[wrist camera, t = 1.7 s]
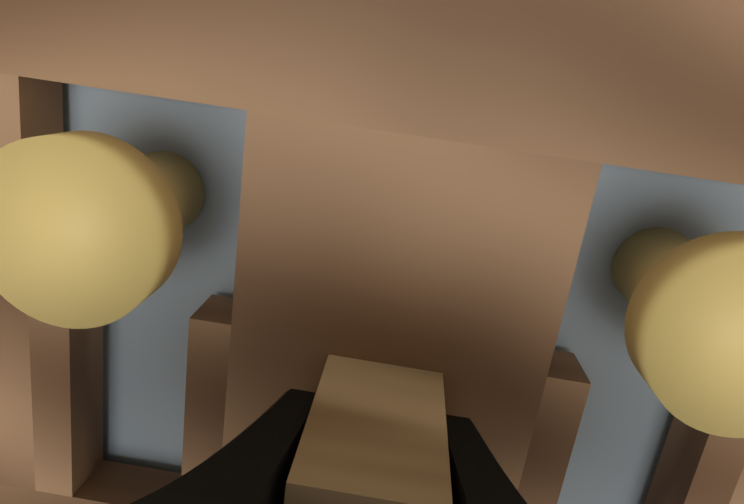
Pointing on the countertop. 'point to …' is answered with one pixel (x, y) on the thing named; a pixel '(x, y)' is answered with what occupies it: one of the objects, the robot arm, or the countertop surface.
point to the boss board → (218, 260)
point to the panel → (380, 228)
